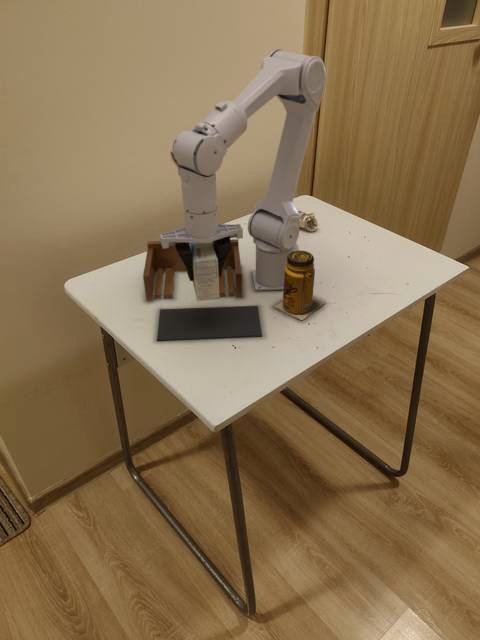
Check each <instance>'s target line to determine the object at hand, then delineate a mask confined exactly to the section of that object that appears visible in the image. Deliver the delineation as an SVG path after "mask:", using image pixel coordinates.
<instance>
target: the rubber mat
mask: <svg viewBox="0 0 480 640" xmlns="http://www.w3.org/2000/svg"><path fill="white" fill-rule="evenodd" d="M261 325H262V324H261V318H260V312H259V306H258V305H241V306H240V305H239V306H215V307H213V306H212V307H211V306H210V307H189V308H161V309H159V317H158V327H157V335H156V341H157V342H170V341H171V342H172V341H191V340H192V341H193V340H215V339H216V340H217V339H218V340H219V339H239V338H240V339H241V338H262V337H263V332H262V326H261Z"/></svg>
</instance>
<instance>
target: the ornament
mask: <svg viewBox="0 0 480 640" xmlns="http://www.w3.org/2000/svg"><path fill="white" fill-rule="evenodd" d="M297 211H298V212H299V214H300V216H301V218H300V222H299V228H302V229H305V231H309V232H314V231H316V230H317V228H318V225H319V224H318V220H317V217H316V213H314V212H310V213H308V212H307V213H306V212H304V211H302V210H300V209H297ZM309 224H310V225H309ZM308 225H309V226H308Z"/></svg>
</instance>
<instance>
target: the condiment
mask: <svg viewBox="0 0 480 640" xmlns="http://www.w3.org/2000/svg"><path fill="white" fill-rule="evenodd" d="M314 262H315V256H314V255H313V254H312V253H311V252H309V251H306V250H300V249H299V250H298V251H293V252H291V253H289V254H288V256H287V266H286V267H285V273H284V290H283V293H282V294H283V295H282V297H283V298H282V301H280V302H279V303H278V304H276V305H274V308H276V309H278V310H280V311H281V312H283V313H285V314H287V315H289V316H292V317H293V318H296V319H298V320H300V321H303V320H304V319H306V318H308V317H309V316H311V315H312V314H313V313H314V312H316V311H317V310H318V309H320V308H321V307H322V306H324V305H325V304H326V303H327V302H326V301H323V300H320V299H318V298H316V297H314V287H315V276H316V268H315V263H314Z"/></svg>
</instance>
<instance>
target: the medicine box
mask: <svg viewBox="0 0 480 640" xmlns="http://www.w3.org/2000/svg"><path fill="white" fill-rule="evenodd" d="M189 246H190V250H191V252H192V269H193V275H194V281H191V282H192V285H193V290H194V293H195V294H194V295H195V298H196V301H197V302H203V301H211V300H219V299H220V298H221V296H220V295H219V274H218V259H217V255H216V252H215V249H214V246H213V243H212V242H208V243H189Z"/></svg>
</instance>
